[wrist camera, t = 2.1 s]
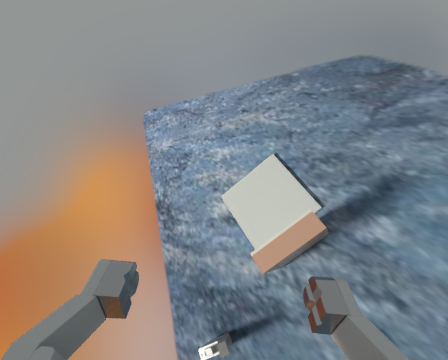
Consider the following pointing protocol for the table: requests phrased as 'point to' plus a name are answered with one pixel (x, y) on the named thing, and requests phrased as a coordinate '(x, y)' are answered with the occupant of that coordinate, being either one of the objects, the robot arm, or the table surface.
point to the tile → (289, 242)
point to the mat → (268, 201)
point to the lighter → (216, 347)
